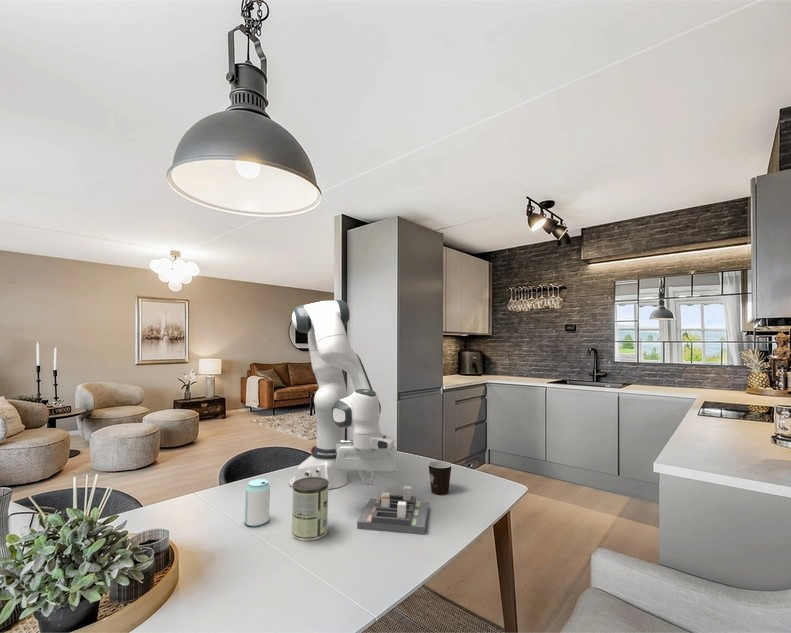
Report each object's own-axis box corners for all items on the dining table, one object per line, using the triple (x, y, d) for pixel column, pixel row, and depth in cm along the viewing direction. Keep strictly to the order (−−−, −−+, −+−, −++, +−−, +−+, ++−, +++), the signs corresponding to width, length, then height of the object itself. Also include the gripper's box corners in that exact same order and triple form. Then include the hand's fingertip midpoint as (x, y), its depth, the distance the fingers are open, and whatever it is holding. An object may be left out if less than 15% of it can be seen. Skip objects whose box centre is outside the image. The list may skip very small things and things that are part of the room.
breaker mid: (380, 511, 123) (381, 494, 123) (382, 507, 125) (382, 491, 126) (388, 511, 122) (388, 495, 123) (390, 508, 125) (390, 492, 125)
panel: (357, 528, 116) (357, 516, 116) (370, 503, 134) (370, 493, 134) (424, 534, 113) (424, 521, 113) (428, 508, 131) (428, 497, 131)
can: (262, 515, 124) (263, 476, 125) (272, 522, 119) (274, 482, 120) (240, 521, 119) (242, 481, 120) (250, 530, 114) (252, 487, 115)
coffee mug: (452, 496, 141) (452, 468, 142) (429, 496, 141) (429, 467, 142) (449, 484, 153) (449, 458, 153) (427, 484, 153) (427, 458, 153)
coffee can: (292, 525, 117) (294, 477, 118) (327, 523, 119) (328, 475, 120) (289, 542, 107) (291, 490, 108) (327, 540, 109) (328, 488, 110)
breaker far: (402, 504, 128) (403, 488, 129) (403, 501, 131) (403, 485, 131) (410, 504, 128) (410, 488, 128) (410, 501, 130) (411, 486, 131)
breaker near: (397, 521, 115) (397, 504, 116) (398, 518, 118) (398, 501, 118) (405, 522, 115) (405, 505, 115) (406, 518, 117) (406, 501, 118)
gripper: (332, 442, 124) (333, 487, 123) (395, 443, 121) (397, 489, 120) (338, 437, 130) (339, 480, 130) (399, 438, 127) (400, 482, 126)
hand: (367, 484), depth 125 cm, fingers closed
